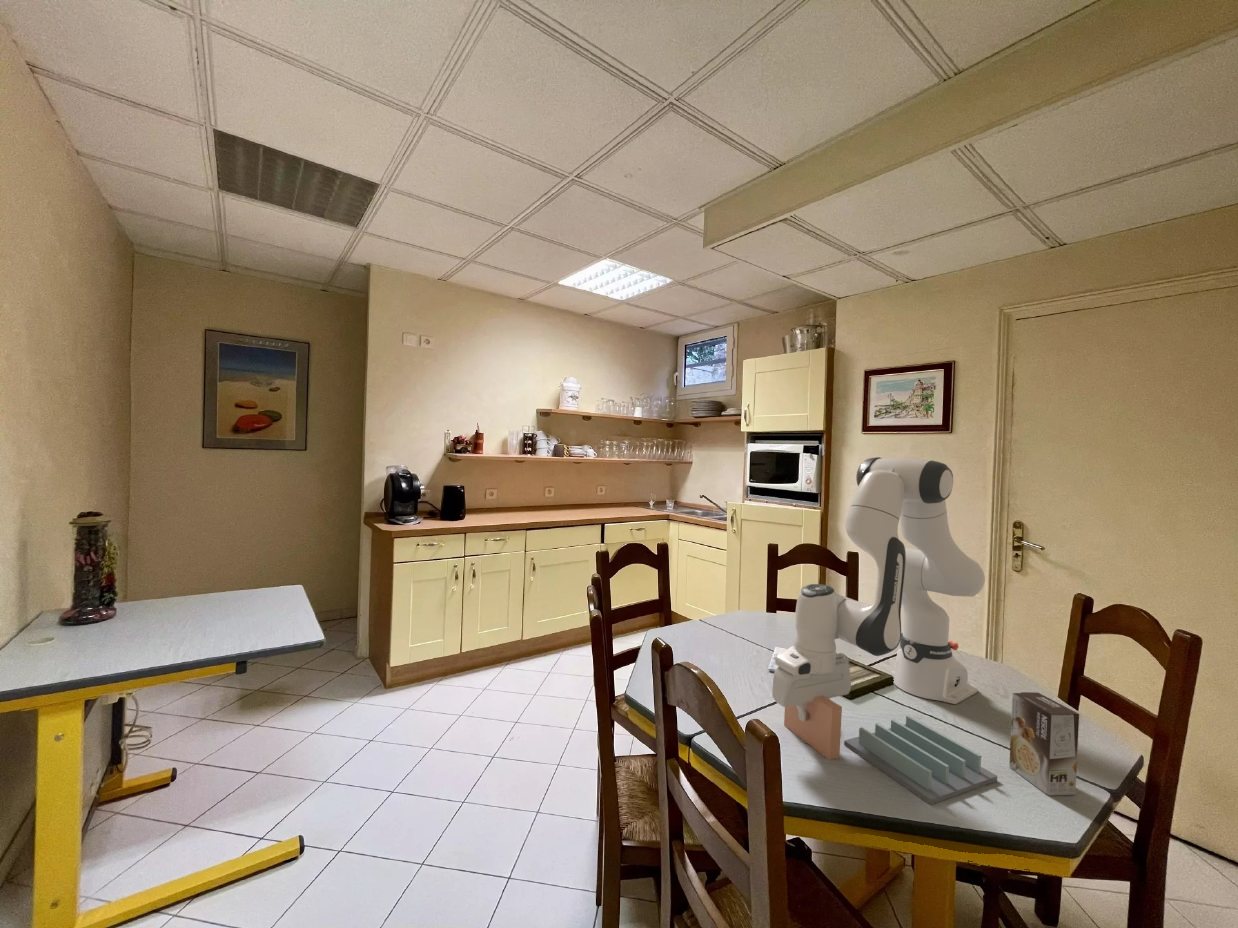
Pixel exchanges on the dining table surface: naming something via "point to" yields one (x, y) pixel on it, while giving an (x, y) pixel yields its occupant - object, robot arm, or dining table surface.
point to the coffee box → (1044, 743)
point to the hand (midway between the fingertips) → (811, 717)
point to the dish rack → (922, 759)
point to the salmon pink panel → (818, 725)
